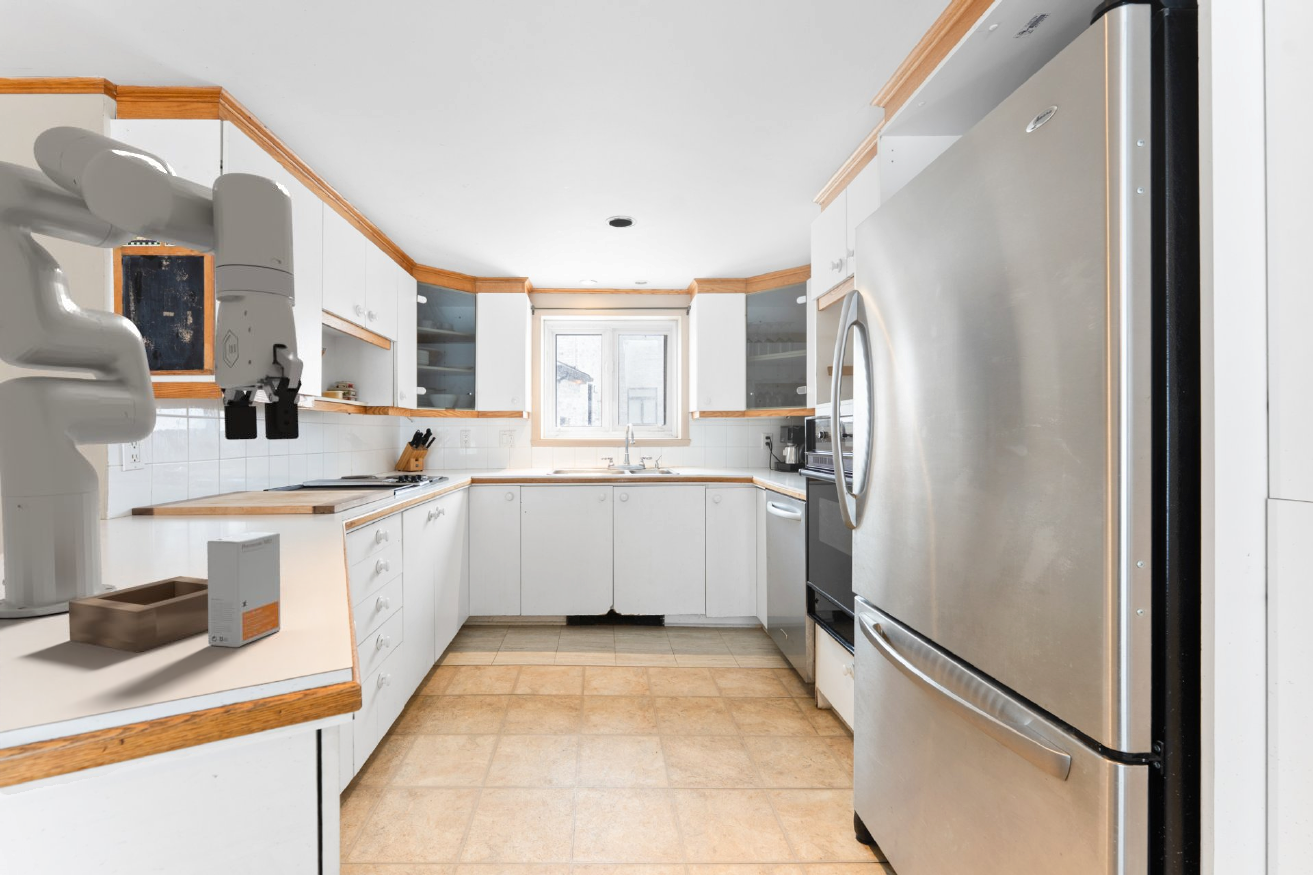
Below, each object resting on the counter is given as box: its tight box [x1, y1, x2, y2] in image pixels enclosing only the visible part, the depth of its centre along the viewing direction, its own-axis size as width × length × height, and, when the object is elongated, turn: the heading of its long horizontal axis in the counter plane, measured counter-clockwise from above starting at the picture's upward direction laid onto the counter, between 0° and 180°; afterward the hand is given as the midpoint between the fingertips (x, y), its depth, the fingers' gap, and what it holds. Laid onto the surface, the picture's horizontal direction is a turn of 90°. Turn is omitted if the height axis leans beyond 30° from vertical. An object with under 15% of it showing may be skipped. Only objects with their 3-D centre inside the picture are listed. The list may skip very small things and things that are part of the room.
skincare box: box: [206, 531, 281, 648], centre depth 70 cm, size 6×4×12 cm
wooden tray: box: [68, 575, 208, 653], centre depth 73 cm, size 12×12×4 cm
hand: (261, 439), depth 69 cm, fingers open, 9 cm apart
